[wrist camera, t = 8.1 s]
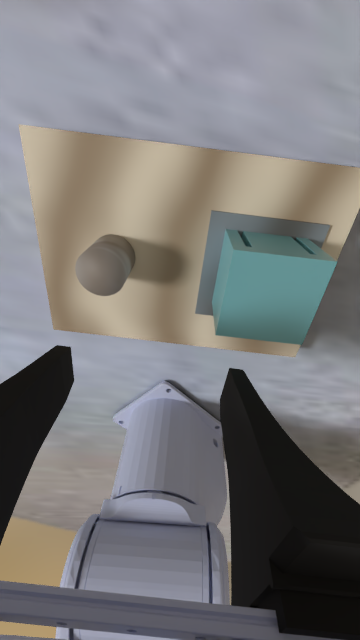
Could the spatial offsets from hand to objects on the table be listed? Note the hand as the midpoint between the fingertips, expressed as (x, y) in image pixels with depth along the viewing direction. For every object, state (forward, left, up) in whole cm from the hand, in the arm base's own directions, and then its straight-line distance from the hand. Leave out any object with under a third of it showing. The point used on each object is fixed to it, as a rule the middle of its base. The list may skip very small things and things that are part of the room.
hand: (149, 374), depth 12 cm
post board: (+1, -3, -9) cm, 10 cm away
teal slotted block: (-3, -6, -8) cm, 10 cm away
